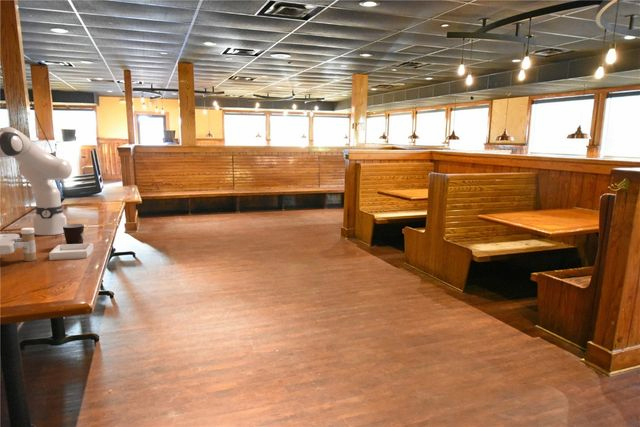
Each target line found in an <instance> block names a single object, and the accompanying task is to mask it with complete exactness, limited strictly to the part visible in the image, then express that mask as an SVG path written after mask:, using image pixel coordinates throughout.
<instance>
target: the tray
mask: <svg viewBox="0 0 640 427" xmlns="http://www.w3.org/2000/svg"><path fill="white" fill-rule="evenodd" d="M93 251H94V243H89V242H88V243H83V244H66V243H65V244H58V245H56V246H55V247H54V248H53V249H51V251H50V252H48V254H49V256H48V257H49V261H56V260H58V261H59V260H60V261H61V260H74V259H78V260H79V259H88V258H89V256H90V255H91V253H93Z"/></svg>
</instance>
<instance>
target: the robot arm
mask: <svg viewBox="0 0 640 427" xmlns="http://www.w3.org/2000/svg"><path fill="white" fill-rule="evenodd" d="M6 157H12V158H13V159H15V160H16V161H17V162H18V163H19V164H18V172H19V174H20V175H21V176H22V177H24V178H25V179H26V181H27V182H28V183H29V184H30V185H31V188H32V191H33V193H34V199H35V200H34V201H35V209H34V211H35V215H34V216H33V217H32V228H34V235H36V236H54V235H61V234H64V230H63V226H64V225H68V224H69V222H68V220H67V216H66V215H65V213H64V208H63V204H62V200H61V199H62V198H61V197H62V196H61V191H60V190H59V189H58V188H57V187H55V186H54V184H53V183H52V181H61V180H62V181H63V180H66V179H68V178H70V176H71V175H72V169H73V168H72V165H71V164H70V162H69V161H68V160H65V159H62V158H59V157H57V156H55V155H53V154H51V153H50V152H48V151H46V150H44V149H42V148H41V147H39V146H38V145H37V144H35V142H33V141H32V140H31V138H29V137H28V136H27V135H25V134H24V133H23V132H21V131H19V130H18V129H16V128H15V127H11V126H5V127H2V128H1V129H0V158H6ZM27 246H29V242H28V241H27V242H23V241H22V237H20V234H18V233H0V255H9V254H13V253H14V251H15V250H16V249H21V248H23V247H27Z"/></svg>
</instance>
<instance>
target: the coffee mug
mask: <svg viewBox="0 0 640 427" xmlns="http://www.w3.org/2000/svg"><path fill="white" fill-rule="evenodd" d="M84 229H85V224H83V223H68V225H64V226H63V230H64V233H63V234H64V235H63V236H64V239H65V245H66V244H84V233H85V232H84Z"/></svg>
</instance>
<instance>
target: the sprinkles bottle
mask: <svg viewBox="0 0 640 427" xmlns="http://www.w3.org/2000/svg"><path fill="white" fill-rule="evenodd" d="M20 233H21V238H22V241H23V242H27V241H28V242H29V246H27V247H22V252H23V261H25V262H32V261H36V260H37V247H36V241H35V240H36V239H35V234H34V228H33V227H24V228H23V227H22V228H21V229H20Z"/></svg>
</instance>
